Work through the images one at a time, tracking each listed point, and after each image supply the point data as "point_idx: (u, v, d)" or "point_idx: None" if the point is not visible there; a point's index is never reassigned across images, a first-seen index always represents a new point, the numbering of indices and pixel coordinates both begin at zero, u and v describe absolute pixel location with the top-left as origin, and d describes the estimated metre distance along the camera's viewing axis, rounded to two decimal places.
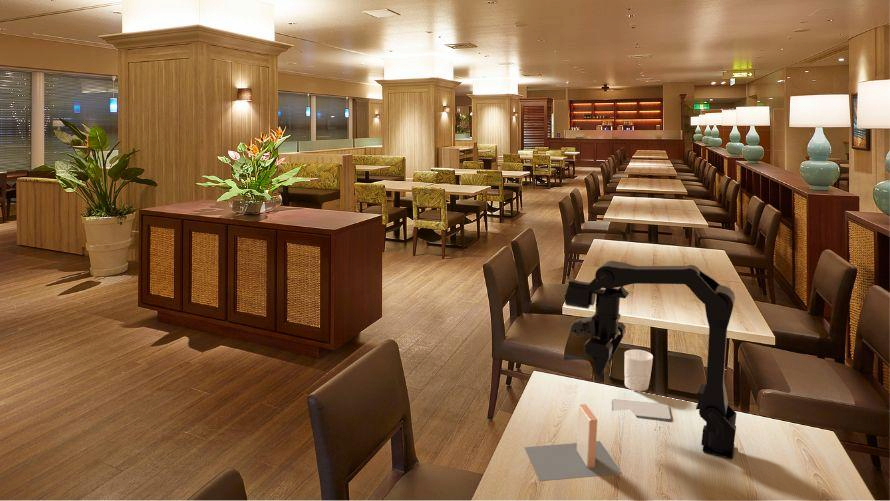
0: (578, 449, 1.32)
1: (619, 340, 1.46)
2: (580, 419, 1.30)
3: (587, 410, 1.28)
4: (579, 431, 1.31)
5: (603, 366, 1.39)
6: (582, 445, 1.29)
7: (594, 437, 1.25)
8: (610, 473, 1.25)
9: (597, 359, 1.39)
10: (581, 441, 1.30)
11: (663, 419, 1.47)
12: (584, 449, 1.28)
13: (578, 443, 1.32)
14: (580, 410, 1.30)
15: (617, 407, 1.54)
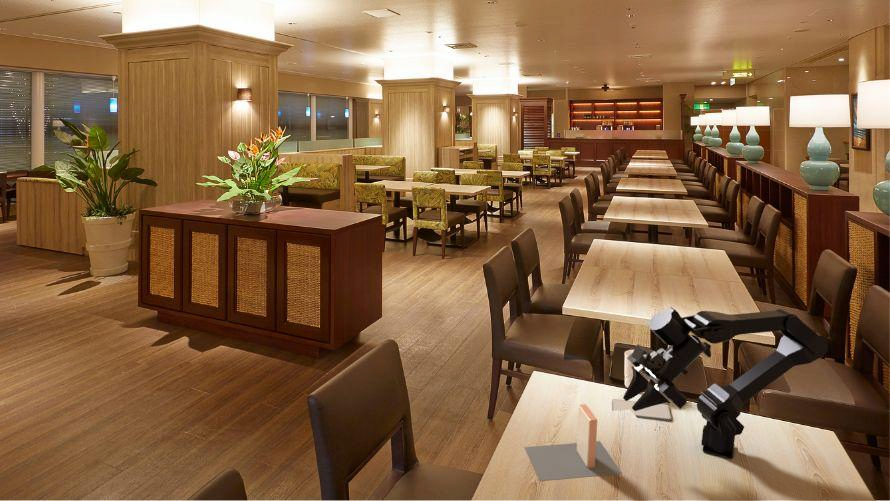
0: (578, 449, 1.32)
1: None
2: (580, 419, 1.30)
3: (587, 410, 1.28)
4: (579, 431, 1.31)
5: (649, 405, 1.25)
6: (582, 445, 1.29)
7: (594, 437, 1.25)
8: (610, 473, 1.25)
9: (650, 397, 1.25)
10: (581, 441, 1.30)
11: (663, 419, 1.47)
12: (584, 449, 1.28)
13: (578, 443, 1.32)
14: (580, 410, 1.30)
15: (617, 407, 1.54)
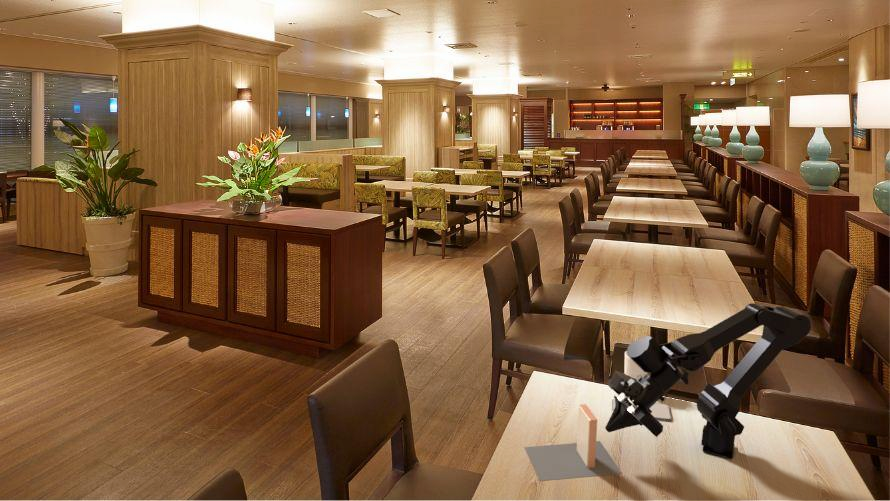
0: (578, 449, 1.32)
1: None
2: (580, 419, 1.30)
3: (587, 410, 1.28)
4: (579, 431, 1.31)
5: (623, 427, 1.28)
6: (582, 445, 1.29)
7: (594, 437, 1.25)
8: (610, 473, 1.25)
9: (623, 419, 1.28)
10: (581, 441, 1.30)
11: (663, 419, 1.47)
12: (584, 449, 1.28)
13: (578, 443, 1.32)
14: (580, 410, 1.30)
15: None
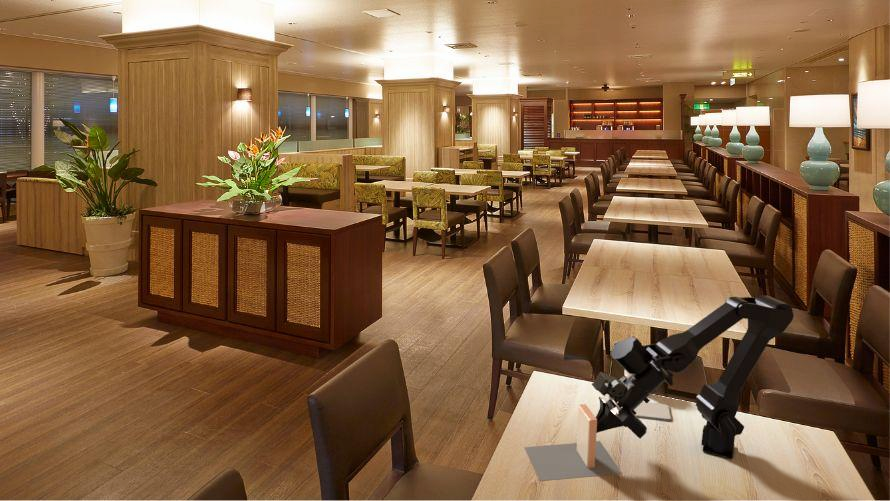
0: (578, 449, 1.32)
1: None
2: (580, 419, 1.30)
3: (587, 410, 1.28)
4: (579, 431, 1.31)
5: (607, 428, 1.28)
6: (582, 445, 1.29)
7: (594, 437, 1.25)
8: (610, 473, 1.25)
9: (607, 420, 1.27)
10: (581, 441, 1.30)
11: (663, 419, 1.47)
12: (584, 449, 1.28)
13: (578, 443, 1.32)
14: (580, 410, 1.30)
15: None
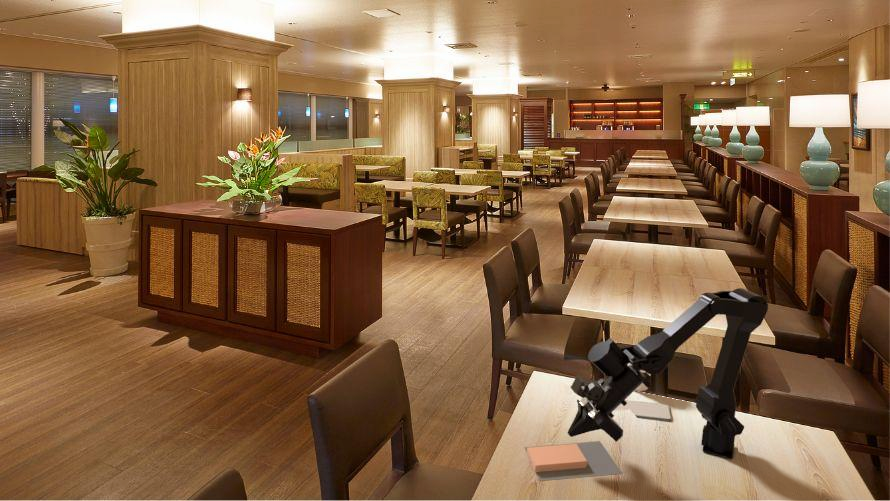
0: None
1: None
2: None
3: (530, 457, 1.29)
4: None
5: (585, 431, 1.27)
6: None
7: (554, 465, 1.26)
8: (610, 473, 1.25)
9: (585, 423, 1.27)
10: None
11: (663, 419, 1.47)
12: None
13: None
14: None
15: None
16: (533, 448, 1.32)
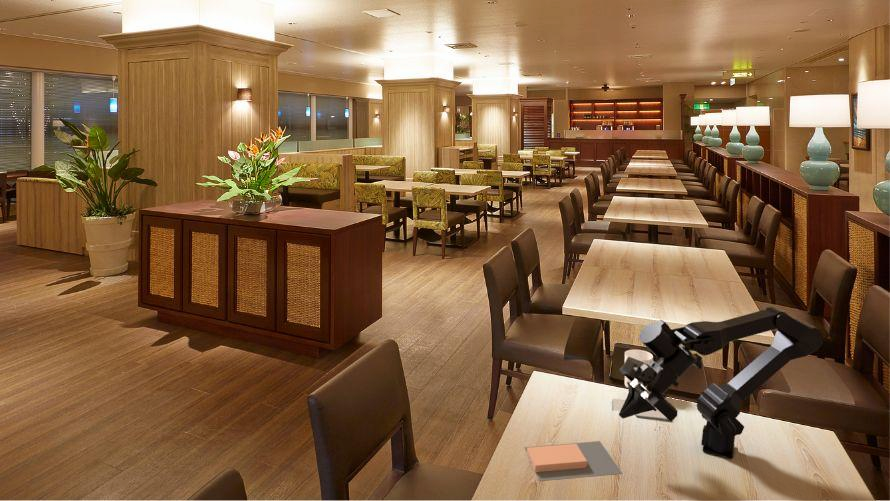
0: None
1: None
2: None
3: (530, 457, 1.29)
4: None
5: (636, 413, 1.28)
6: None
7: (554, 465, 1.26)
8: (610, 473, 1.25)
9: (637, 404, 1.27)
10: None
11: (663, 419, 1.47)
12: None
13: None
14: None
15: (617, 406, 1.54)
16: (533, 448, 1.32)
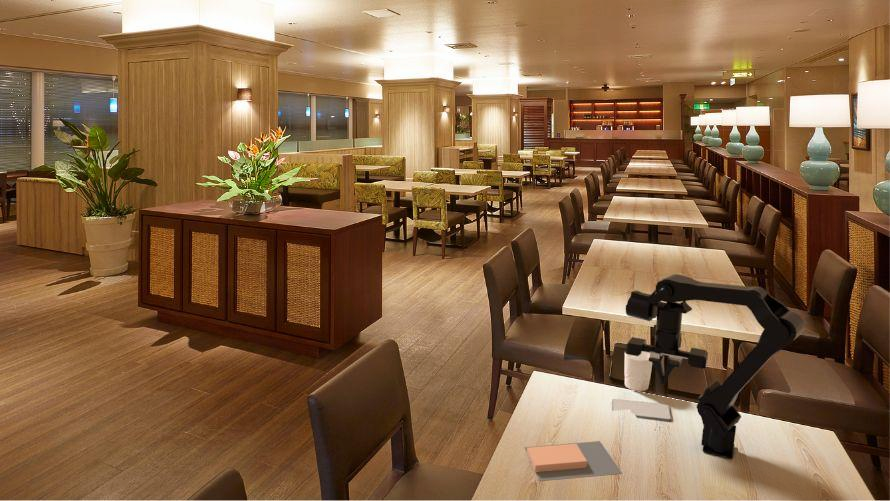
0: None
1: None
2: None
3: (530, 457, 1.29)
4: None
5: None
6: None
7: (554, 465, 1.26)
8: (610, 473, 1.25)
9: None
10: None
11: (663, 419, 1.47)
12: None
13: None
14: None
15: (617, 406, 1.54)
16: (533, 448, 1.32)
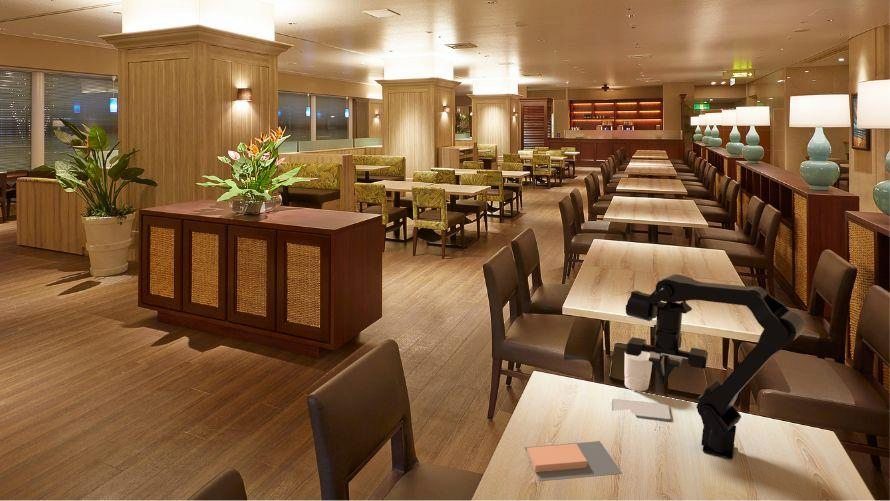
0: None
1: None
2: None
3: (530, 457, 1.29)
4: None
5: None
6: None
7: (554, 465, 1.26)
8: (610, 473, 1.25)
9: None
10: None
11: (663, 419, 1.47)
12: None
13: None
14: None
15: (617, 406, 1.54)
16: (533, 448, 1.32)
